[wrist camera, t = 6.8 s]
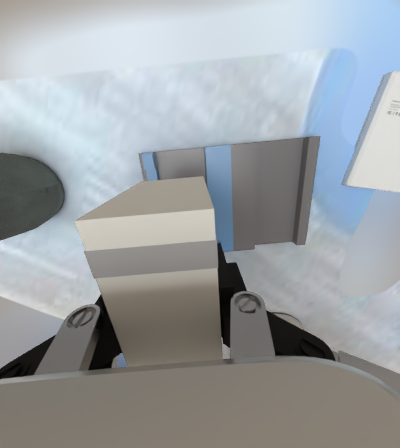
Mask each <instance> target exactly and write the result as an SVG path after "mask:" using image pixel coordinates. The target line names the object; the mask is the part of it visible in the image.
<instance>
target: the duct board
mask: <svg viewBox="0 0 400 448" xmlns="http://www.w3.org/2000/svg"><path fill="white" fill-rule="evenodd" d="M319 142H320V136H316V137H306V138H297V139H286V140H276V141H266V142H253V143H243V144H233V145H222V146H212V147H203V148H193V149H183V150H172V151H162V152H150V153H141V154H139V158H140V163H141V168H142V173H143V178H144V181H155V180H166V179H177V178H188V177H200V176H203V177H204V180H205V183H206V186H207V189H208V192H209V195H210V198H211V201H212V204H213V207H214V217H215V234H216V239H217V243H221V246H222V249H223V252H229V251H240V250H251V249H255V245H259V244H270V243H281V242H294V243H295V244H296V245H305V241H306V236H307V229H308V221H309V214H310V207H311V200H312V192H313V185H314V178H315V171H316V163H317V156H318V149H319Z"/></svg>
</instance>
